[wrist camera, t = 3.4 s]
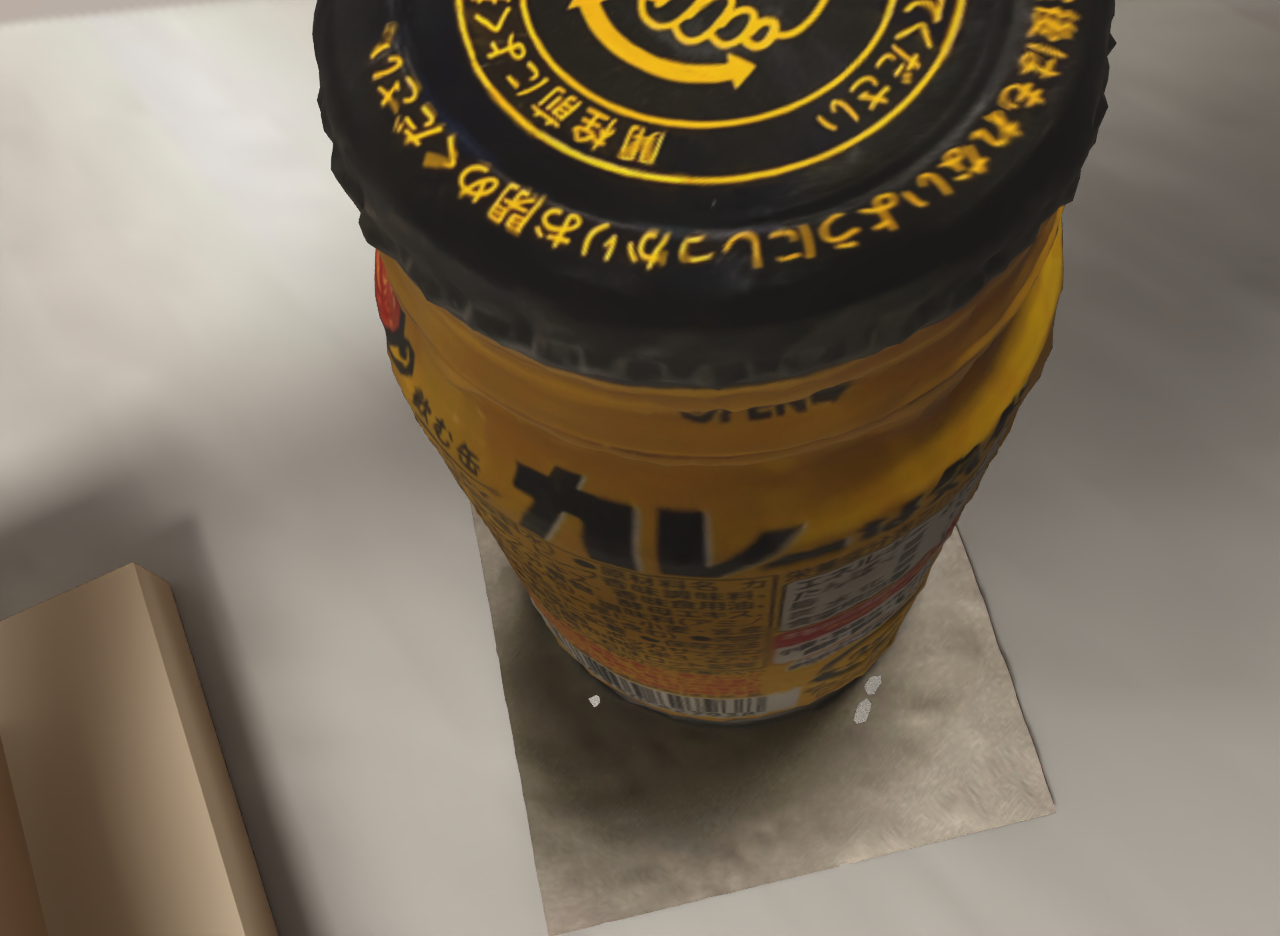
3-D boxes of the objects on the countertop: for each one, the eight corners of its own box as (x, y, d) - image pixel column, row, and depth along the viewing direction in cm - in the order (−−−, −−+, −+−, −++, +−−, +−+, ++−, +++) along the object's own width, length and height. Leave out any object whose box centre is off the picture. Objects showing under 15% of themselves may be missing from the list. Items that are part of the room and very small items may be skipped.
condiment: (876, 302, 20) (1049, -497, 9) (1053, 814, 17) (1681, 602, 6) (453, 405, 20) (75, -264, 9) (552, 936, 17) (161, 974, 5)
